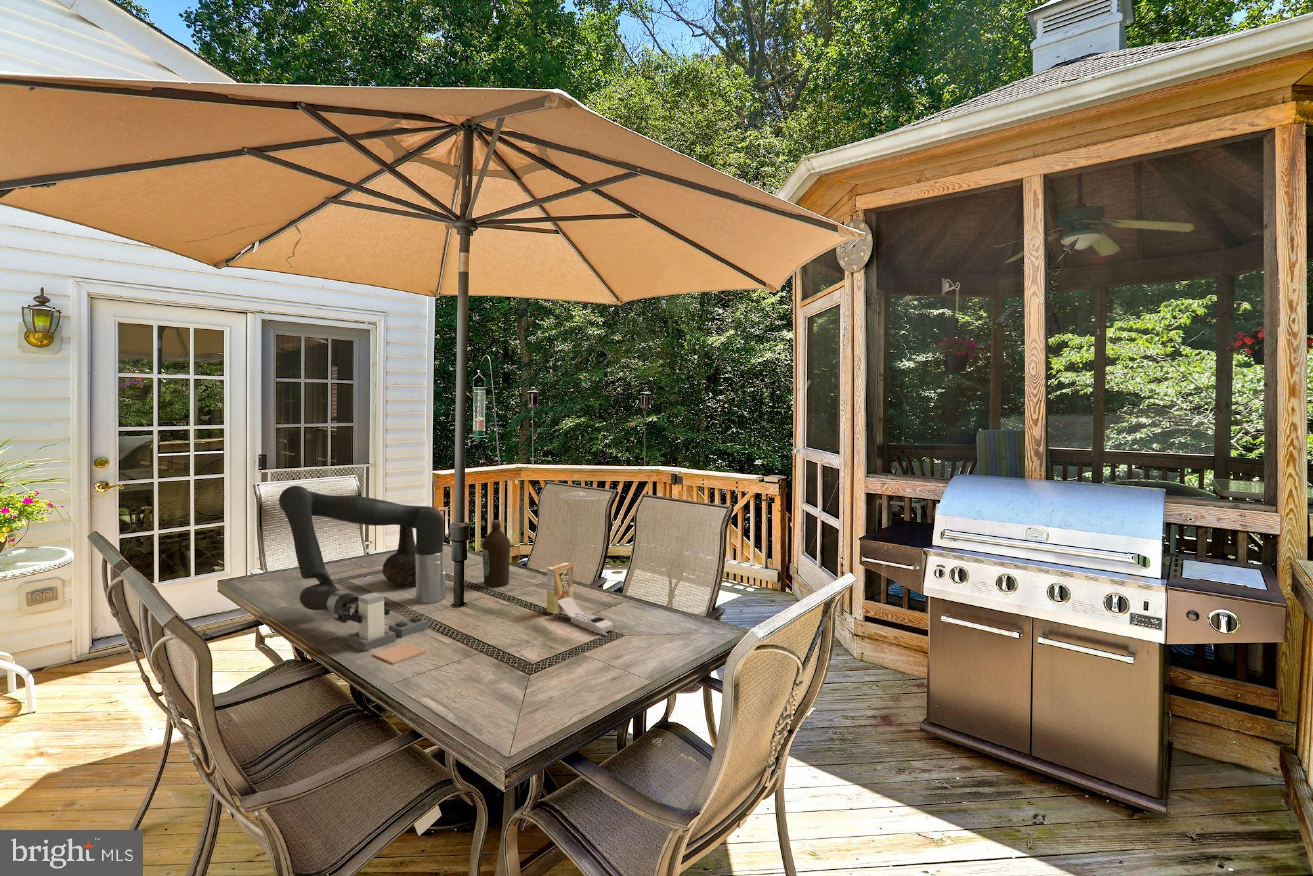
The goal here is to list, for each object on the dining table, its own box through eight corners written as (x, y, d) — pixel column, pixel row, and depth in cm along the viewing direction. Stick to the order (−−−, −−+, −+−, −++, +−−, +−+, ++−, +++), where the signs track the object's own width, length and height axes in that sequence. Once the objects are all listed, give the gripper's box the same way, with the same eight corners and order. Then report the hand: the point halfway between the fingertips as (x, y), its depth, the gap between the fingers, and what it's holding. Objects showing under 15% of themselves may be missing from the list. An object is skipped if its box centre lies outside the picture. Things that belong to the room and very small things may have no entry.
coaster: (405, 644, 182) (405, 642, 182) (425, 652, 176) (425, 650, 176) (372, 655, 174) (372, 653, 174) (393, 664, 168) (393, 662, 168)
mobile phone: (570, 596, 210) (618, 614, 192) (570, 613, 211) (618, 632, 193) (555, 600, 206) (603, 619, 188) (555, 617, 206) (603, 638, 189)
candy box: (564, 605, 218) (564, 562, 217) (573, 607, 216) (573, 564, 215) (546, 612, 211) (546, 567, 210) (555, 614, 208) (555, 569, 208)
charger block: (375, 638, 186) (374, 592, 186) (384, 642, 184) (383, 595, 183) (359, 643, 182) (358, 596, 182) (368, 647, 180) (367, 599, 179)
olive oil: (506, 578, 250) (506, 517, 248) (513, 585, 240) (513, 522, 239) (479, 582, 245) (479, 519, 243) (485, 589, 235) (485, 524, 234)
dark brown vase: (441, 578, 249) (440, 509, 247) (414, 592, 232) (413, 517, 230) (402, 575, 253) (401, 507, 251) (372, 588, 236) (371, 515, 234)
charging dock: (412, 623, 199) (412, 614, 199) (430, 629, 194) (430, 620, 194) (347, 643, 182) (347, 633, 182) (365, 651, 176) (365, 641, 176)
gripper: (321, 598, 185) (351, 609, 175) (367, 587, 196) (397, 596, 187) (322, 623, 185) (351, 635, 176) (368, 610, 197) (397, 621, 187)
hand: (375, 615), depth 181 cm, fingers open, 8 cm apart
